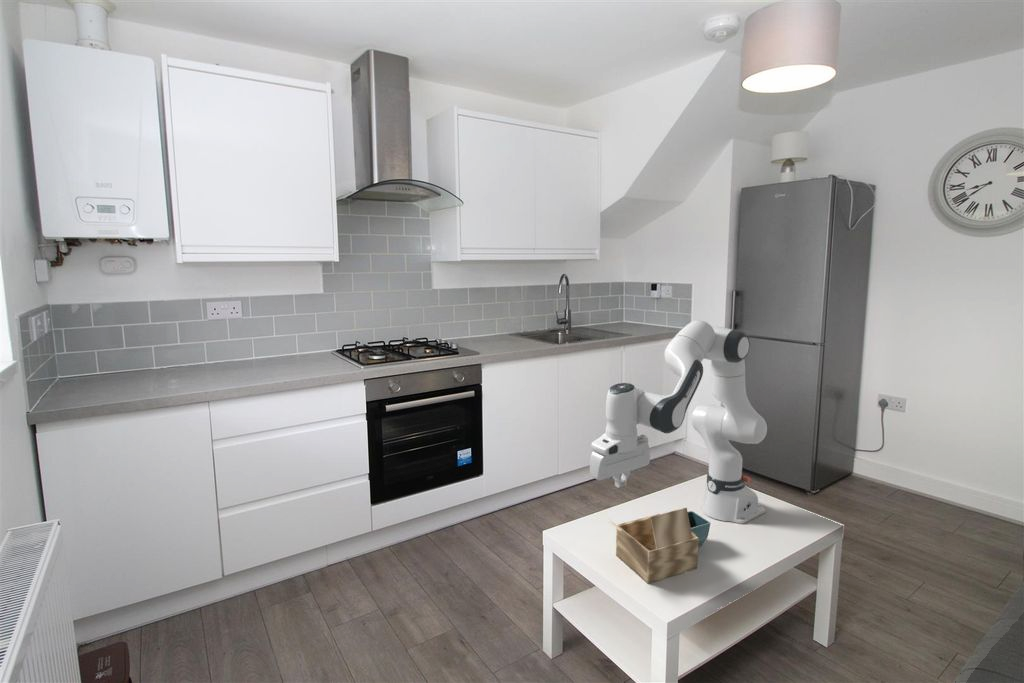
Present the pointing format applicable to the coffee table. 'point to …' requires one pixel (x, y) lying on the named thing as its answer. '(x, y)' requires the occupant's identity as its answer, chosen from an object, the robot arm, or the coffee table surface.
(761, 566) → the coffee table surface
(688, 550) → the open wooden box
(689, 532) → the flap left
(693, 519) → the flower pot
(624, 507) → the coffee table surface
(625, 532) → the flap front
